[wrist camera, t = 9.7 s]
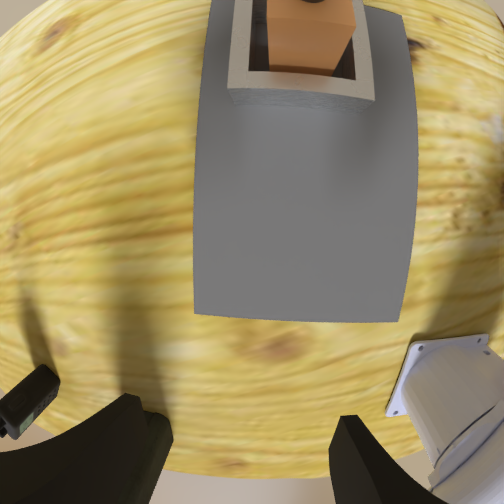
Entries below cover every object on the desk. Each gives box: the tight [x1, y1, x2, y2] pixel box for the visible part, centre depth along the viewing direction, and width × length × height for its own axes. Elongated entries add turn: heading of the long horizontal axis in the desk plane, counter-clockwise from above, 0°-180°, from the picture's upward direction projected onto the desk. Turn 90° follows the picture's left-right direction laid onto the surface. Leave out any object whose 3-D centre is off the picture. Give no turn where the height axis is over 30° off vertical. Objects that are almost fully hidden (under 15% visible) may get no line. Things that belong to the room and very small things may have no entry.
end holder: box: [227, 0, 375, 115], centre depth 12 cm, size 8×8×3 cm
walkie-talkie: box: [0, 364, 60, 440], centre depth 15 cm, size 5×3×15 cm
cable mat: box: [193, 0, 418, 323], centre depth 15 cm, size 14×23×1 cm, turn 177°
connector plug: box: [267, 0, 356, 77], centre depth 10 cm, size 4×4×9 cm
